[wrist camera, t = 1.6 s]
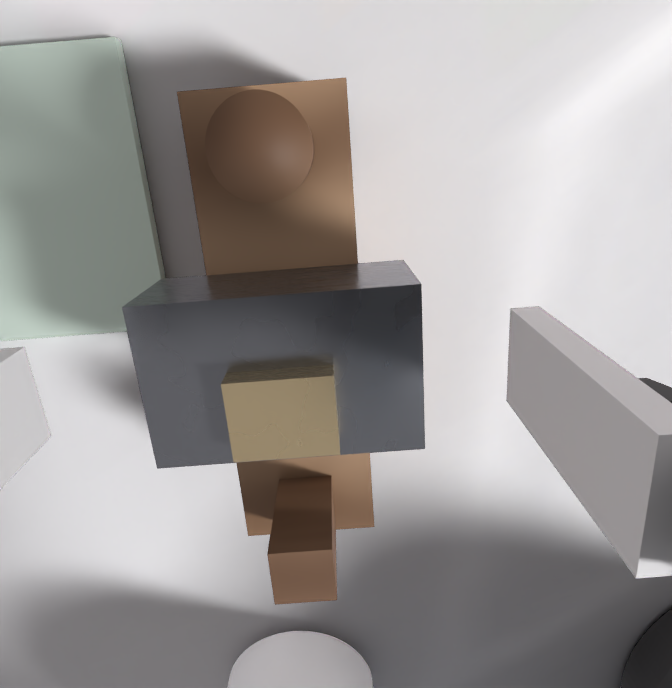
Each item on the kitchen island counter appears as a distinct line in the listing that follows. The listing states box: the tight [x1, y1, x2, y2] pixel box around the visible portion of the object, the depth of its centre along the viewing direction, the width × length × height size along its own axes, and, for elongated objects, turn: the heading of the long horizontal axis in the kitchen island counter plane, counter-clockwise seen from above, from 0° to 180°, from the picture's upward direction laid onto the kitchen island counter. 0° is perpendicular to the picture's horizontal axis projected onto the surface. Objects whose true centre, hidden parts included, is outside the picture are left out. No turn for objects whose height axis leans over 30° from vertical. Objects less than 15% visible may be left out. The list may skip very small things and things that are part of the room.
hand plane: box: [177, 78, 374, 604], centre depth 19 cm, size 16×5×9 cm, turn 4°
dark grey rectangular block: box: [122, 260, 425, 468], centre depth 16 cm, size 5×8×4 cm, turn 94°
